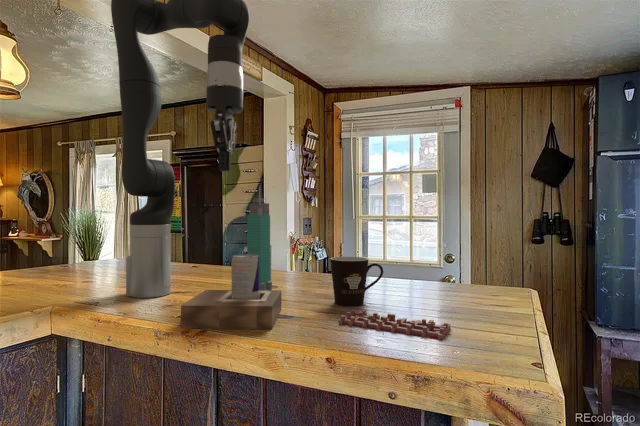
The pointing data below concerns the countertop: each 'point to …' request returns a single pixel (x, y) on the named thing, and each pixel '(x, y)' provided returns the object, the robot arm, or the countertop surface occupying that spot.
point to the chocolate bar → (395, 325)
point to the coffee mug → (351, 279)
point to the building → (260, 239)
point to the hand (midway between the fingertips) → (224, 171)
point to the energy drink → (246, 277)
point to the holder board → (231, 311)
